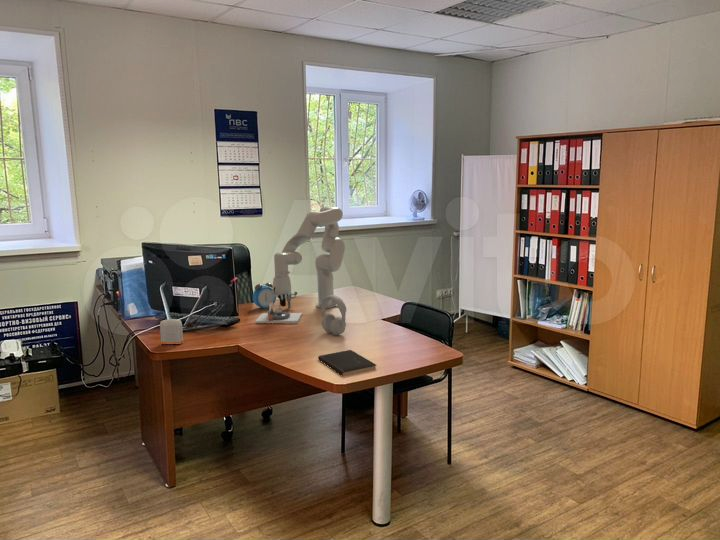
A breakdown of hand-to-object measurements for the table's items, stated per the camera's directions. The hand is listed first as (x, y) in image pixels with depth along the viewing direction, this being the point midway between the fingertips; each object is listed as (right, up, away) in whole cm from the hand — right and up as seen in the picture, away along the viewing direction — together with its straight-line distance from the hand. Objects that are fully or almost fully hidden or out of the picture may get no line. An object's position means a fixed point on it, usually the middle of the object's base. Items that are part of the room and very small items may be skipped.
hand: (283, 305), depth 316 cm
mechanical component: (+1, -2, +17) cm, 17 cm away
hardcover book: (+38, -20, -83) cm, 94 cm away
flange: (-2, -5, -9) cm, 10 cm away
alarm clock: (-13, -3, +18) cm, 23 cm away
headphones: (+31, -12, -40) cm, 52 cm away
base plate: (-1, -7, -10) cm, 12 cm away
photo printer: (-46, -15, -50) cm, 70 cm away
